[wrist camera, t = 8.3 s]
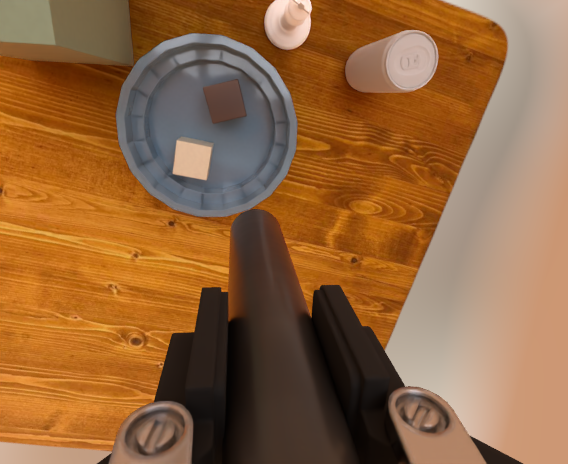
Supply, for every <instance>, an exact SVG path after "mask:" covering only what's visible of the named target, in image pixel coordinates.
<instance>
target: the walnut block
mask: <svg viewBox="0 0 568 464" xmlns="http://www.w3.org/2000/svg"><path fill="white" fill-rule="evenodd" d="M203 91H204V94H205V98H206V102H207V105H208V109H209V112H210V116H211V119H212V123H213V124H215V123H219V122H224V121H228V120H232V119H236V118H241V117H245V116H247V114H246V110H245V106H244V102H243V98H242V94H241V89H240V85H239V81H238V79H235V80H231V81H227V82H222V83H218V84H214V85H210V86H205V87H203Z"/></svg>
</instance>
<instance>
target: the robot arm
mask: <svg viewBox="0 0 568 464" xmlns="http://www.w3.org/2000/svg"><path fill="white" fill-rule="evenodd" d="M311 319H312V322H313V325H314V327H315V330H316V333H317V336H318V339H319V342H320V345H321V348H322V351H323V354H324V357H325V360H326V363H327V365H328V368H329V371H330V374H331V377H332V380H333V383H334V386H335V389H336V392H337V395H338V398H339V401H340V403H341V406H342V409H343V412H344V415H345V418H346V421H347V424H348V427H349V430H350V433H351V436H352V439H353V442H354V444H355V447H356V450H357V453H358V456H359V459H360V462H361V464H523V463H521V462H519V461H517V460H515V459H513V458H511V457H509V456H508V455H505V454H504V453H502V452H500V451H498V450H496V449H494V448H492V447H490V446H488V445H487V444H485V443H483V442H481V441H479V440H477V439H475V438H473V437H471V436H469V434H468V433H467V431H466V430H465V428H464V426H463V425H462V423H461V421H460V420H459V418H458V417H457V415H456V413H455V412H454V410H453V409H452V408H451V406H450V405H449V404H448V403H447V402H446V401H445V400H443V399H442V398H441V397H440V396H438V395H437V394H434V393H433V392H431V391H429V390H426V389H423V388H419V387H410V386H408V387H405V386H404V383H403V382H402V380H401V378H400V377H399V375H398V373H397V372H396V370H395V368H394V366H393V365H392V363H391V361H390V359H389V358H388V356H387V354H386V353H385V351H384V349H383V347H382V346H381V344H380V342H379V341H378V339H377V337H376V335H375V334H374V332H373V330H372V329H371V328H370V327H368V326H362V325H361V323H360V321H359V319H358V318H357V316H356V314H355V312H354V310H353V309H352V307H351V305H350V303H349V301H348V299H347V298H346V296H345V294H344V292H343V290H342V289H341V287H340V285H321V286H320V290H315V291H314V295H313V306H312V318H311ZM227 355H228V292H221V287H211V288H202V292H201V298H200V303H199V309H198V315H197V321H196V327H195V332H192V333H173V334H172V337H171V340H170V344H169V347H168V351H167V355H166V359H165V362H164V366H163V370H162V374H161V377H160V381H159V385H158V389H157V392H156V396H155V400H154V403H149V404H147V405H145V406H143V407H140V408H138V409H137V410H136V411H134V412H133V413H131V414H130V415H129V416H128V417H127V418H126V419H125V421H124V422H123V423H122V424H121V426H120V428H119V430H118V433H117V435H116V439H115V443H114V446H113V450H112V453H111V454H110V455H108V456H107V457H106V458H104V459H103V460H101V461H100V462H99V463H97V464H222V446H223V438H224V434H225V420H226V388H227Z"/></svg>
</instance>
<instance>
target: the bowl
mask: <svg viewBox="0 0 568 464" xmlns="http://www.w3.org/2000/svg"><path fill="white" fill-rule="evenodd" d="M235 79H238V81H239V85H240V89H241V94H242V98H243V102H244V106H245V110H246V114H247V116H245V117H241V118H236V119H232V120H228V121H224V122H219V123H215V124H213V123H212V119H211V116H210V112H209V109H208V105H207V102H206V98H205V94H204V91H203V87H205V86H210V85H214V84H218V83H222V82H227V81H231V80H235ZM116 123H117V132H118V142H119V146H120V148H121V151H122V153H123V155H124V157H125V160H126V162H127V164H128V166H129V169H130V171H131V173H132V174H133V175H134V176H135V177H136V178H137V180H138V181H139V182H140V183H141V184H142V185H143V187H144V188H145V189H146V190H147V191H148V192H149V193H150V194H151V195H152V196H154V197H155V198H157V199H158V200H160V201H162V202H163V203H165V204H166V205H168V206H169V207H171V208H172V209H174V210H178V211H181V212H184V213H187V214H191V215H194V216H197V217H227V216H230V215H233V214H237V213H240V212H243V211H247V210H249V209H251V208H253V207H254V206H256V205H257V204H259V203H260V202H261V201H263V200H264V199H266V198H267V197H269V196H270V195H271V194H272V193H273V192H274V190H275V189H276V188H277V187H278V185H279V184H280V183H281V181H282V180H283V179H284V178H285V176H286V175H287V173H288V170H289V167H290V165H291V162H292V159H293V157H294V154H295V151H296V141H297V124H298V123H297V118H296V114H295V110H294V106H293V102H292V98H291V94H290V92H289V91H288V89H287V87H286V86H285V84H284V82H283V81H282V79H281V77H280V76H279V74H278V72H277V71H276V69H275V68H274V67H273V66H272V65H271V64H270V63H269V62H268V61H266V60H265V59H264V58H263V57H262V56H261V55H260V54H259V53H257V52H256V51H255V50H254V49H253V48H251V47H249V46H247V45H245V44H242V43H240V42H238V41H235V40H233V39H231V38H228V37H226V36H223V35H213V34H199V33H190V34H187V35H183V36H180V37H176V38H173V39H170V40H166V41H163V42H161V43H160V44H159V45H157V46H156V47H155V48H153V49H152V50H151V51H149V52H148V53H147V54H145V55H144V56H143V57H141V58H140V59H139V60H138V61H137V62H136V64H135V66H134V67H133V69H132V70H131V72H130V74H129V75H128V77H127V78H126V80H125V81H124V83H123V85H122V88H121V92H120V97H119V101H118V106H117V110H116ZM180 137H187V138H192V139H197V140H202V141H206V142H211V143H214V144H213V151H212V157H211V164H210V170H209V175H208V178H207V180H202V179H196V178H191V177H186V176H180V175H175V174H173V166H174V158H175V150H176V142H177V140H178V139H179V138H180Z"/></svg>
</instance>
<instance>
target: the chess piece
mask: <svg viewBox="0 0 568 464" xmlns="http://www.w3.org/2000/svg"><path fill="white" fill-rule="evenodd" d="M311 10H312V7H311V2H310V0H275V1H274V2H273V3H272V4H271V5H270V6H269V8H268V9H267V12H266V14H265V19H264V26H265V31H266V34H267V36H268V38H269V40H270V41H271V42H272V43H273V44H274V45H275V46H277V47H278V48H281V49H285V50H291V49H295V48H297V47H299V46H300V45H301V44H303V42H304V41H305V40H306V38H307V37H308V34H309V31H310V26H311V19H310V13H311Z"/></svg>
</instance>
